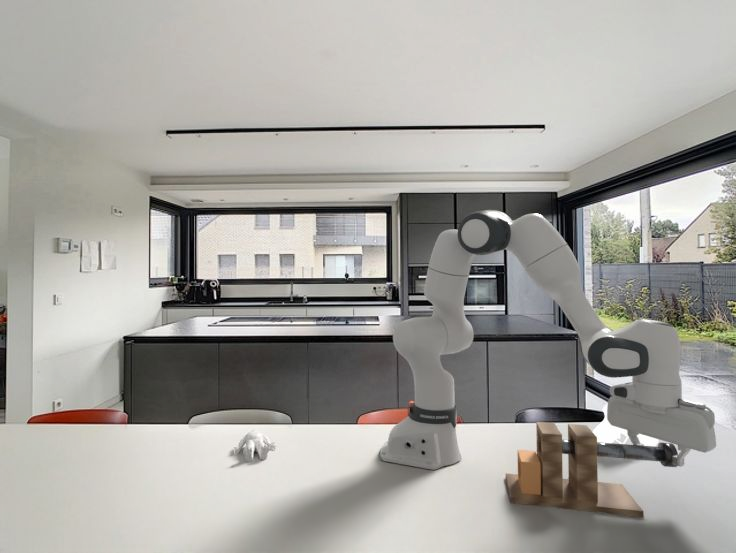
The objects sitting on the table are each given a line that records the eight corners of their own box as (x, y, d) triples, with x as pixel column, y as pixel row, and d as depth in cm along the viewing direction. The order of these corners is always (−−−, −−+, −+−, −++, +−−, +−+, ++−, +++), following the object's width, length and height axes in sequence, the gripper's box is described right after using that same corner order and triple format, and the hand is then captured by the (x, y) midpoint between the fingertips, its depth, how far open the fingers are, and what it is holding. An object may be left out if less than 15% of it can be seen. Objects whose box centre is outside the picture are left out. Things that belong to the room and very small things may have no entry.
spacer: (521, 493, 94) (521, 461, 94) (517, 478, 101) (517, 449, 101) (540, 495, 93) (540, 463, 93) (535, 480, 100) (535, 451, 100)
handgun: (587, 445, 117) (613, 403, 118) (581, 441, 120) (607, 400, 121) (636, 479, 118) (661, 438, 120) (629, 475, 121) (654, 434, 122)
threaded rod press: (511, 502, 92) (510, 434, 92) (505, 478, 104) (505, 417, 104) (643, 517, 86) (642, 443, 87) (622, 489, 98) (621, 424, 98)
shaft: (548, 460, 94) (548, 438, 94) (544, 451, 98) (544, 431, 99) (678, 471, 88) (678, 448, 88) (667, 461, 93) (667, 439, 93)
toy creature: (233, 449, 112) (232, 425, 123) (233, 469, 113) (232, 443, 124) (279, 444, 116) (274, 420, 127) (278, 463, 117) (273, 439, 128)
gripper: (721, 403, 83) (723, 473, 83) (618, 382, 101) (619, 440, 101) (706, 408, 80) (707, 481, 80) (602, 386, 98) (603, 445, 98)
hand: (657, 458), depth 91 cm, fingers closed on shaft, 6 cm apart
